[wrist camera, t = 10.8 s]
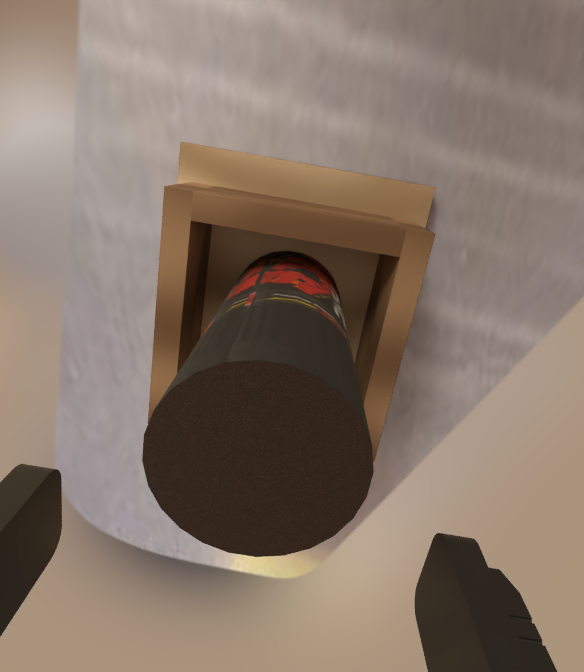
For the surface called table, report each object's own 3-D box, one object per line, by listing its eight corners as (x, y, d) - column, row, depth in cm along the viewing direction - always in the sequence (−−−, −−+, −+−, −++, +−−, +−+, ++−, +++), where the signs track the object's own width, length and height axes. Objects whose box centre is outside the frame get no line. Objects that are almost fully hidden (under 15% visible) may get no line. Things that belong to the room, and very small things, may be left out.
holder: (185, 142, 24) (148, 136, 19) (431, 186, 25) (466, 192, 19) (164, 397, 30) (129, 451, 24) (368, 431, 30) (381, 493, 24)
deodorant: (362, 307, 26) (422, 474, 12) (283, 373, 28) (255, 590, 14) (288, 227, 25) (258, 309, 11) (211, 301, 26) (94, 458, 12)
